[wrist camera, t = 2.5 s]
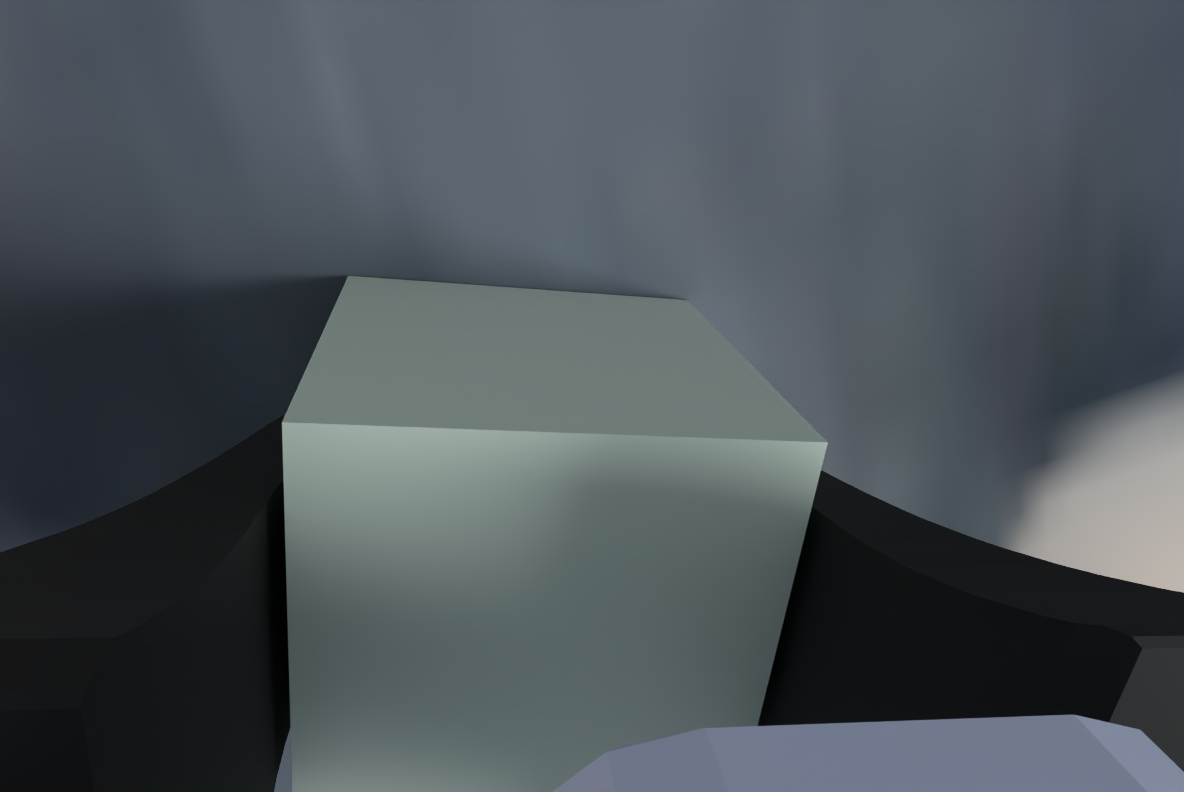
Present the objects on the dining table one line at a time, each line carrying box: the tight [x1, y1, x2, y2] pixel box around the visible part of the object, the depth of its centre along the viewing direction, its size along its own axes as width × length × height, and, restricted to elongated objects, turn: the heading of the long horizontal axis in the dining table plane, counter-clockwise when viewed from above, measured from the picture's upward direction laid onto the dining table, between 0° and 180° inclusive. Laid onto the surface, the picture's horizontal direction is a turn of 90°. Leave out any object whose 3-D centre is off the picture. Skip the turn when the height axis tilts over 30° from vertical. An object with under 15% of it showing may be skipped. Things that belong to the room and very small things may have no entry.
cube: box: [282, 276, 828, 792], centre depth 10 cm, size 5×5×5 cm
